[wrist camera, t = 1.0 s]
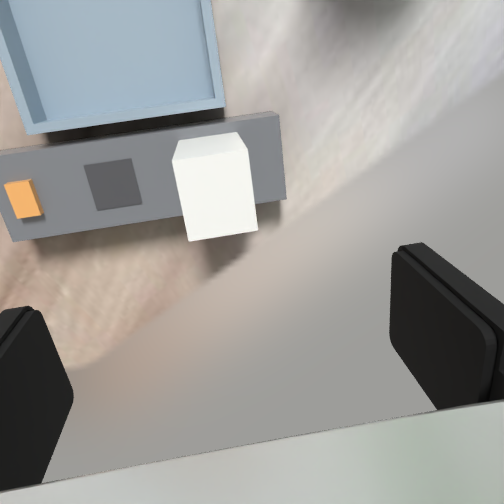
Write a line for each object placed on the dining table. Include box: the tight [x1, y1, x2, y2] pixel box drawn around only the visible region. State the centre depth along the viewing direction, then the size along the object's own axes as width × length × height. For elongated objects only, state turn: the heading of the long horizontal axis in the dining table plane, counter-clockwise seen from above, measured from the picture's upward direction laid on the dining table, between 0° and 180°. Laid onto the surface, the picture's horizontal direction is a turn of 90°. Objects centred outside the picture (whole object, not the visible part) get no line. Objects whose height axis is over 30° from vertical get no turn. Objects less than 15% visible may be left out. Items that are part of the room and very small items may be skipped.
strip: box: [0, 111, 287, 242], centre depth 29 cm, size 20×6×4 cm, turn 97°
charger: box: [172, 132, 258, 242], centre depth 26 cm, size 4×5×9 cm
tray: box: [0, 0, 226, 135], centre depth 25 cm, size 13×12×3 cm
